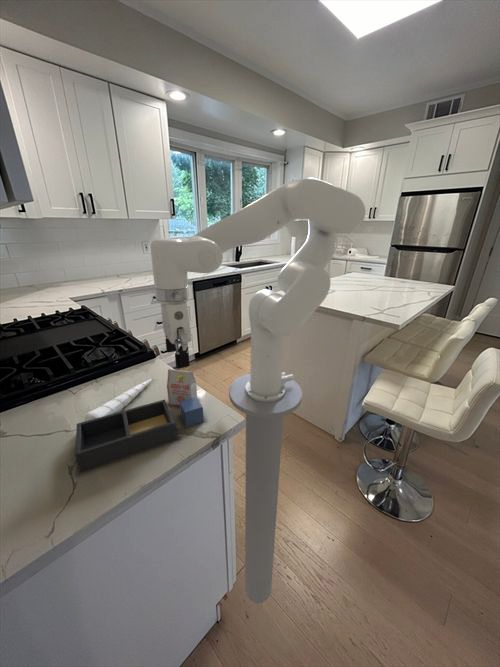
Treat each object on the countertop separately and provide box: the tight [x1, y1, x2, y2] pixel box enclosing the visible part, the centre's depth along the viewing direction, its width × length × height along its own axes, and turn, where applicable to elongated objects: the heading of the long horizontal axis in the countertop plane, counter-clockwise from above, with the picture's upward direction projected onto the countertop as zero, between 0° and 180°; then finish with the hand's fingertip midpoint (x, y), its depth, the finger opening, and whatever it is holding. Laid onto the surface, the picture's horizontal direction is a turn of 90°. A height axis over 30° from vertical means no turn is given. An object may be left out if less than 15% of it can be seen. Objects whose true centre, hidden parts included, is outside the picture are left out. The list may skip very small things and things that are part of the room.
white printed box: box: [166, 368, 198, 407], centre depth 75 cm, size 4×7×10 cm, turn 79°
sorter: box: [74, 399, 178, 473], centre depth 63 cm, size 19×10×5 cm, turn 119°
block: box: [179, 396, 204, 428], centre depth 70 cm, size 4×4×4 cm
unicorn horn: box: [83, 378, 153, 422], centre depth 75 cm, size 5×24×5 cm, turn 160°
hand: (177, 358), depth 72 cm, fingers open, 9 cm apart
